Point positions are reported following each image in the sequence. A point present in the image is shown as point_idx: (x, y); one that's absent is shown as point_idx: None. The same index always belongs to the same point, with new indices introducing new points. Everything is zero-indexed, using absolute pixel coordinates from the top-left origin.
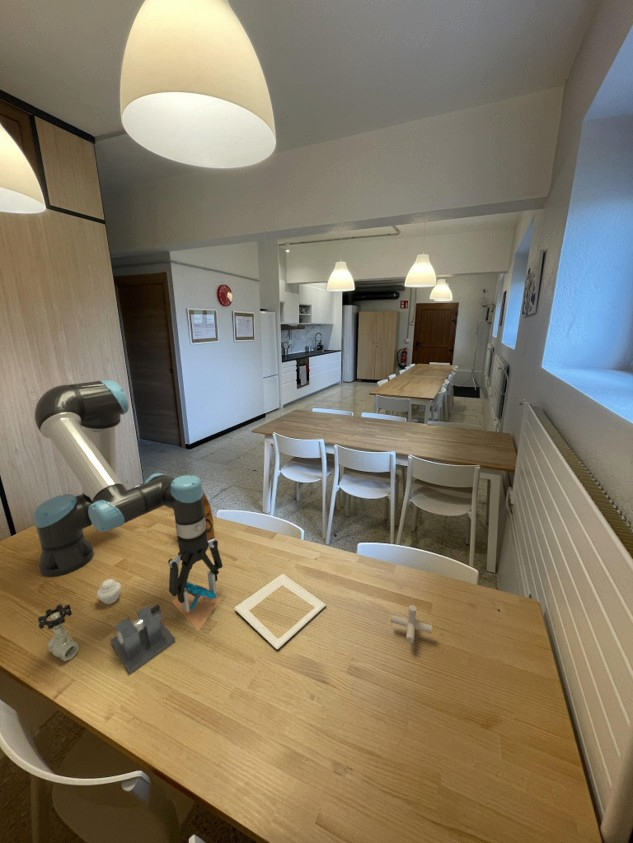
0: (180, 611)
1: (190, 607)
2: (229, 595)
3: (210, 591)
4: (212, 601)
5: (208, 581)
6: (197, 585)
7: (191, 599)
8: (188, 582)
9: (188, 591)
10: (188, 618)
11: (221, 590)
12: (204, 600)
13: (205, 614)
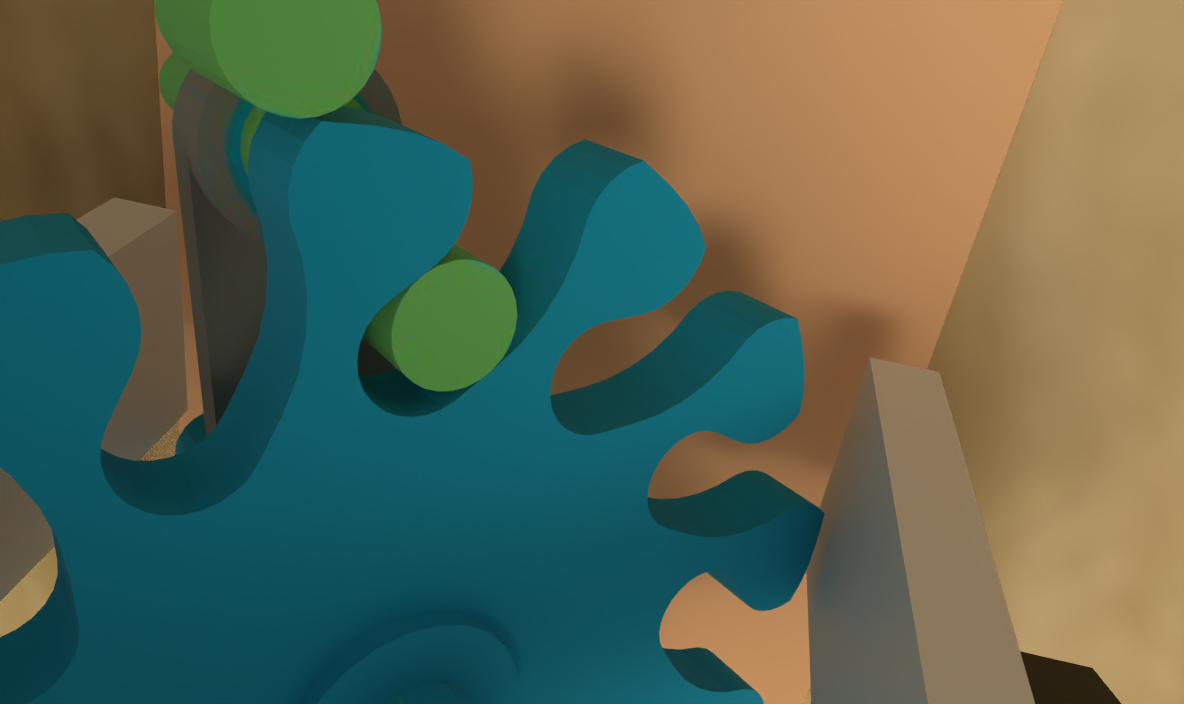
0: (161, 95)
1: (185, 450)
2: (1034, 622)
3: (736, 591)
4: (726, 478)
5: (897, 547)
6: (611, 271)
7: (507, 29)
8: (307, 96)
9: (204, 295)
10: (195, 372)
11: (1101, 410)
12: (660, 319)
13: None
